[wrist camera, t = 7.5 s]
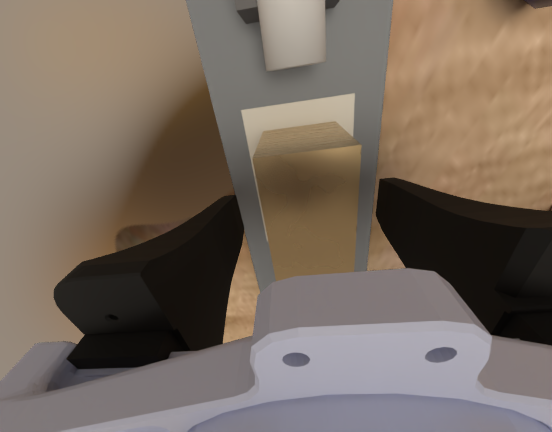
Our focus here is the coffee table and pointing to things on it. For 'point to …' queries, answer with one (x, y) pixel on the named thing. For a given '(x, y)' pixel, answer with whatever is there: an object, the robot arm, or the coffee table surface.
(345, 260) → the block
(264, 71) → the coupling bed
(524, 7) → the coffee table surface
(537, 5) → the grey long handheld tool
